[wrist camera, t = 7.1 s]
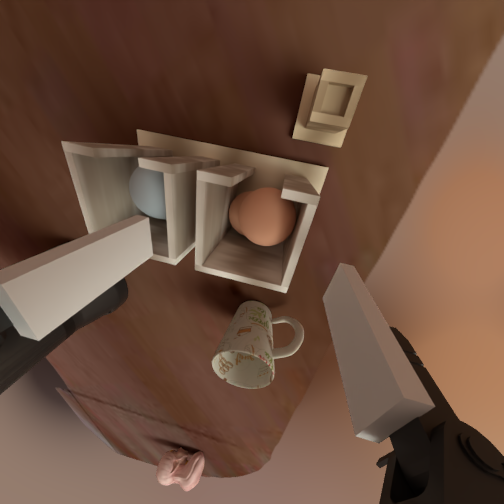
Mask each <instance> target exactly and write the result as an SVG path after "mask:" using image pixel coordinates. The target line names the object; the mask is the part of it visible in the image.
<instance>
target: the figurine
mask: <svg viewBox="0 0 504 504" xmlns="http://www.w3.org/2000/svg"><path fill="white" fill-rule="evenodd" d="M187 456H188V451H185V450H183V449H182V447H180V449H179V450H177V451H175V450H170V451H167V452H166V453H165V454H164V455H163V457H162V458H161V460H160V463H159V465H158V468H157V473H156V477H157V479H158V481H159V483H161V484H162V485H170V484H172V483H179V484H180V486H181V487H182V488H183V489H184V490H185V491H189V490H190V489H192V488H194V487H195V486H196V485H197V484H198V482H199V478H200V476H201V474H202V471H203V468H204V454H203V452H201V451H199V452H196V453H195V454H193V456H192V457H191V458H190V460H189V461H188V460H187Z"/></svg>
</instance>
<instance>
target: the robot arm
mask: <svg viewBox="0 0 504 504" xmlns="http://www.w3.org/2000/svg"><path fill="white" fill-rule="evenodd" d="M152 256H153V249H152V241H151V232H150V223H149V217H145V216H141V215H135V216H133V217H130V218H128V219H125V220H123V221H120V222H118V223H115V224H113V225H110V226H108V227H105V228H103V229H100V230H98V231H96V232H93V233H91V234H88V235H86V236H83V237H81V238H78V239H76V240H73V241H71V242H68V243H63V244H61V245H58V246H56V247H53V248H51V249H49V250H47V251H45V252H43V253H40V254H38V255H36V256H33V257H30V258H28V259H26V260H23V261H20V262H18V263H15V264H13V265H10V266H8V267H5V268H3V269H0V394H1V393H3V392H4V391H5V390H6V389H8V388H9V387H10V386H11V385H12V384H13V383H15V382H16V381H17V380H18V379H19V378H20V377H21V376H23V375H24V374H25V373H27V372H28V371H29V370H30V369H31V368H32V367H34V366H35V365H36V364H37V363H38V362H39V361H41V360H42V359H43V358H44V357H46V356H47V355H48V354H49V353H50V352H52V351H53V350H54V349H55V348H56V347H58V346H59V345H60V344H61V343H62V342H63V341H65V340H66V339H67V338H68V337H69V336H71V335H72V334H73V333H74V332H75V331H77V330H78V329H80V328H82V327H84V326H86V325H87V324H89V323H91V322H93V321H95V320H97V319H98V318H100V317H102V316H103V315H107V314H110V313H112V312H113V311H115V310H116V309H117V308H118V307H120V306H121V305H122V304H123V303H124V302H125V301H126V299H127V296H128V289H127V285H126V282H125V280H124V277H125V276H126V275H128V274H129V273H130V272H132V271H133V270H134V269H136V268H137V267H138V266H140V265H141V264H142V263H144V262H145V261H146V260H148V259H149V258H150V257H152ZM323 301H324V305H325V310H326V314H327V318H328V322H329V327H330V331H331V335H332V339H333V344H334V348H335V352H336V356H337V360H338V365H339V369H340V373H341V377H342V382H343V386H344V390H345V394H346V398H347V403H348V407H349V411H350V416H351V420H352V424H353V428H354V432H355V436H357V437H360V438H363V439H367V440H370V441H373V442H377V443H380V442H382V441H383V440H385V439H386V438H388V437H390V440H391V442H392V445H393V448H394V451H392V452H390V453H388V454H387V455H385V456H383V457H381V458H380V459H379V460H378V462H377V464H376V465H377V466H378V467H379V468H381V467H383V466H385V465H387V468H386V473H385V478H384V483H383V488H382V493H381V498H380V503H379V504H504V456H503V455H502V454H501V453H500V452H499V451H498V450H497V448H496V447H495V446H494V445H493V444H492V443H491V442H490V441H489V440H488V439H487V438H485V437H484V436H483V435H482V434H481V433H480V432H478V431H477V430H476V429H474V428H473V427H471V426H469V425H468V424H466V423H464V422H462V421H460V420H459V419H458V417H457V416H456V414H455V413H454V411H453V410H452V408H451V407H450V405H449V404H448V402H447V400H446V399H445V397H444V396H443V394H442V393H441V391H440V389H439V388H438V386H437V385H436V383H435V382H434V380H433V379H432V377H431V375H430V374H429V372H428V371H427V369H426V368H424V367H423V363H422V361H421V360H420V358H419V357H418V356H416V352H415V351H414V349H413V347H412V346H411V344H410V343H409V341H408V340H407V339H406V338H405V337H404V336H403V335H402V334H401V333H400V332H399V331H398V330H397V329H396V328H393V327H389V326H388V324H387V323H386V321H385V319H384V318H383V316H382V314H381V312H380V310H379V309H378V307H377V305H376V304H375V302H374V300H373V298H372V297H371V295H370V293H369V291H368V290H367V288H366V286H365V284H364V283H363V281H362V279H361V278H360V276H359V274H358V272H357V271H356V269H355V267H354V266H352V265H347V264H343V263H340V264H339V266H338V268H337V270H336V272H335V274H334V276H333V278H332V280H331V282H330V284H329V286H328V288H327V290H326V292H325V294H324V296H323Z"/></svg>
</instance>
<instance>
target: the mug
mask: <svg viewBox="0 0 504 504" xmlns="http://www.w3.org/2000/svg"><path fill="white" fill-rule="evenodd" d="M281 322H287V323H289V324H291V325H292V326H293V328H294V329H295V337H294V339H293V341H292V342H291V343H290V344H289V345H288V346H286V347H283V348H275V349H273V335H272V323H281ZM303 339H304V329H303V327H302V325H301V324H300V322H299V321H297V320H296V319H293V318H291V317H287V316H283V317H278V318H275V319H272V317H271V312H270V310H269V308H268V307H267V306H266V305H264V304H263V303H260V302H257V301H246V302H244V303H242V304H241V305H240V306H239V308H238V310H237V311H236V313H235V315H234V317H233V319H232V321H231V323H230V325H229V327H228V329H227V331H226V333H225V335H224V337H223V339H222V340H221V342H220V344H219V346H218V348H217V350H216V352H215V354H214V356H213V359H212V367H213V369H214V371H215V372H216V374H217V375H218V376H219V377H220V378H222V379H223V380H225V381H226V382H228V383H230V384H233V385H235V386H238V387H242V388H249V389H256V388H262V387H265V386H267V385H269V384H270V383H271V382H272V380H273V378H274V358H282V357H287V356H291V355H292V354H294V353H295V352H296V351H297V350H298V349H299V347H300V346H301V344H302V342H303Z"/></svg>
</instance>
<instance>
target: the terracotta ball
mask: <svg viewBox="0 0 504 504" xmlns="http://www.w3.org/2000/svg"><path fill="white" fill-rule="evenodd" d="M281 194H282V191H281V190H279V189H276V188H270V187H265V188H260V189H257V190H255V191H253V192H252V193H250V194H249V195H248V196H247V197H246V198H245V199H244V201H243V202H242V204H241V207H240V210H239V225H240V228H241V230H242V232H243V233H244V235H245V236H246V237H247V238H248V239H249V240H250V241H252V242H253V243H255V244H258V245H262V246H272V245H276V244H279V243H281V242H283V241H284V240H285V239H286V238H287V237H288V236H289V235H290V234H291V233H292V231H293V229H294V227H295V223H296V209H295V206H294V203H293V202H292V200H288V199H283V198H281Z"/></svg>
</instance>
